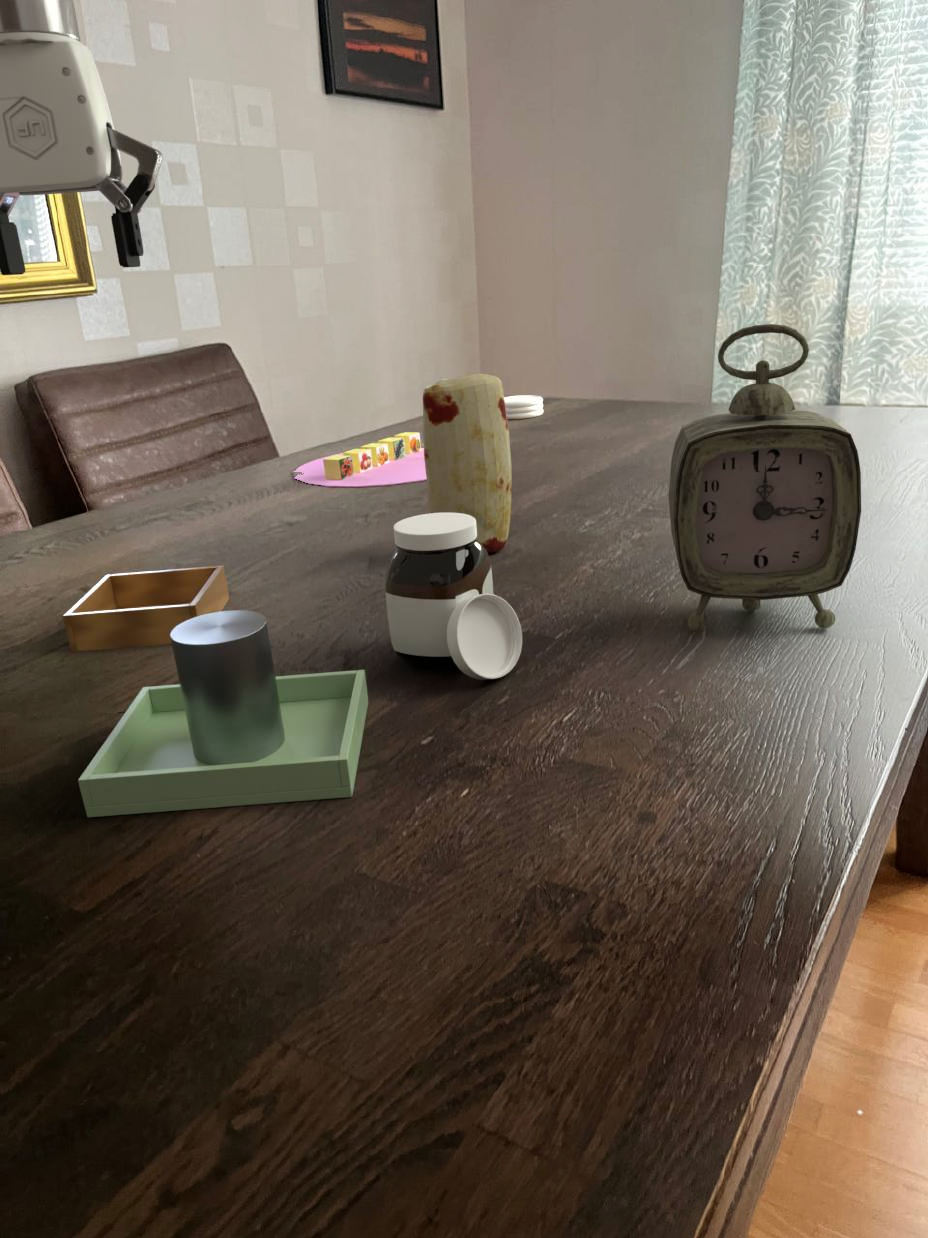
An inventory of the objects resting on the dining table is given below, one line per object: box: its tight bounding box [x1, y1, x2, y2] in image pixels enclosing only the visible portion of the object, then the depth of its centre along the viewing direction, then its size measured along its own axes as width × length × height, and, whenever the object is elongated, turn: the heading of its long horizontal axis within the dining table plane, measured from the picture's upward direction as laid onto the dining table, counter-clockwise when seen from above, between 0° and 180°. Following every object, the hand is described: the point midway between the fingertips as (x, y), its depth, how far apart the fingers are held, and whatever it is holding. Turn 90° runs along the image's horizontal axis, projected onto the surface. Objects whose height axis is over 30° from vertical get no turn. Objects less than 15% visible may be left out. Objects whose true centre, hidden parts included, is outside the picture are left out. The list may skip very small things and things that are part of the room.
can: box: [170, 609, 285, 766], centre depth 67 cm, size 6×6×9 cm
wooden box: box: [62, 564, 230, 653], centre depth 94 cm, size 12×12×4 cm
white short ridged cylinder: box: [504, 394, 544, 420], centre depth 199 cm, size 10×10×4 cm
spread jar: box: [384, 512, 523, 681], centre depth 80 cm, size 12×11×12 cm
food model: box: [422, 373, 513, 554], centre depth 107 cm, size 10×7×20 cm
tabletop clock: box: [668, 323, 862, 632], centre depth 81 cm, size 14×9×25 cm, turn 82°
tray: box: [77, 669, 369, 818], centre depth 68 cm, size 17×14×3 cm
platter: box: [293, 431, 427, 488], centre depth 162 cm, size 32×32×3 cm
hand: (72, 270), depth 79 cm, fingers open, 9 cm apart
